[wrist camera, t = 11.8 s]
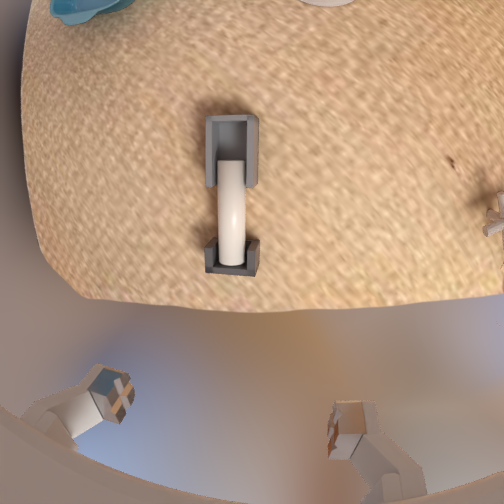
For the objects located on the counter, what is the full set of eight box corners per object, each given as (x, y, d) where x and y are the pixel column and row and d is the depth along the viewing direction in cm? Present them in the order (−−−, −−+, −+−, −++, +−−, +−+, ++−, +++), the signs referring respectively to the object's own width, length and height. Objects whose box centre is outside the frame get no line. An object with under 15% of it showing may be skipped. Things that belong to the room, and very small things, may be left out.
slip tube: (221, 159, 42) (214, 161, 38) (248, 159, 42) (243, 161, 38) (222, 254, 47) (216, 264, 44) (247, 256, 47) (242, 266, 43)
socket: (213, 237, 48) (204, 247, 43) (259, 240, 47) (255, 251, 42) (214, 260, 49) (205, 272, 45) (259, 263, 48) (255, 276, 44)
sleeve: (215, 118, 41) (205, 115, 37) (258, 118, 40) (254, 114, 36) (215, 182, 45) (205, 187, 40) (257, 183, 44) (253, 188, 39)
